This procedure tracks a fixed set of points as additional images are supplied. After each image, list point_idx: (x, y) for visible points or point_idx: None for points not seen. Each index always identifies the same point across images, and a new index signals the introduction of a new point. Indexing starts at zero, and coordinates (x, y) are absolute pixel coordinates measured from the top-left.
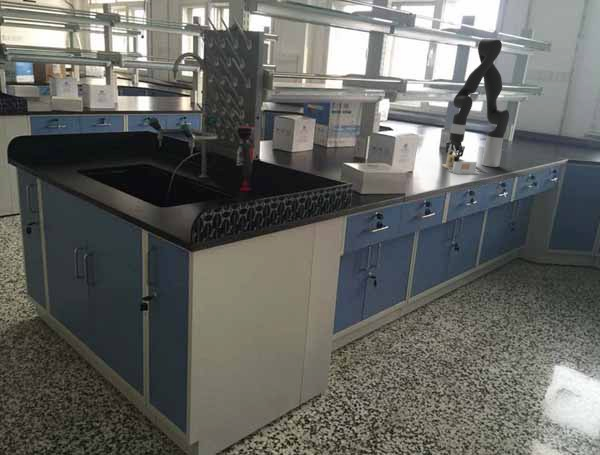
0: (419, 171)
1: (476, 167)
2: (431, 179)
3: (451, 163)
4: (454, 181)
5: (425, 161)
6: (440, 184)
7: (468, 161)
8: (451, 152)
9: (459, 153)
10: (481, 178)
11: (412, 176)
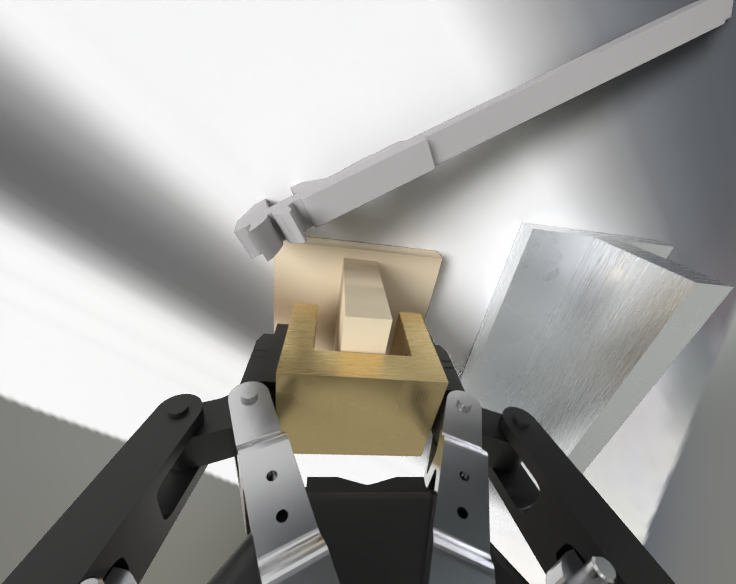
0: None
1: (580, 91)
2: None
3: None
4: (623, 505)
5: (48, 375)
6: None
7: (630, 378)
8: (254, 422)
9: (535, 500)
10: (722, 336)
11: None
